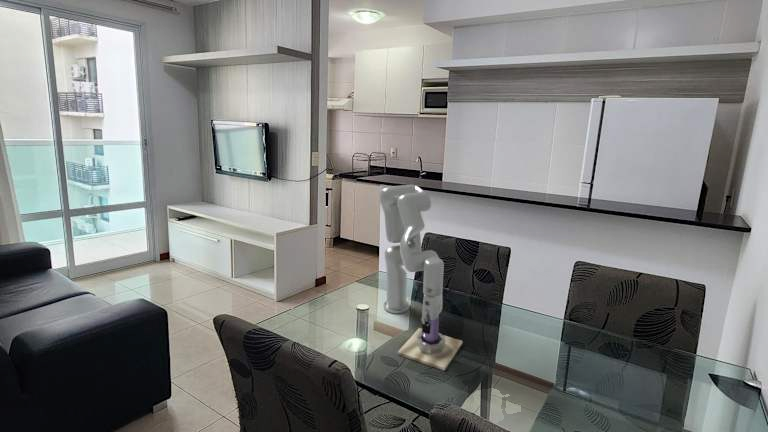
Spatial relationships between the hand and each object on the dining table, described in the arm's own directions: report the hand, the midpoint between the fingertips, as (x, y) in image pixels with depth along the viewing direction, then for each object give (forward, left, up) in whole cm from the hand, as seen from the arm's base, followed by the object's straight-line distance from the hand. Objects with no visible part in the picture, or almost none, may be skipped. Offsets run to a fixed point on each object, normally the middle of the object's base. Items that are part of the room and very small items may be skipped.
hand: (431, 326), depth 167 cm
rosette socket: (0, 0, -10) cm, 10 cm away
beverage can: (0, 0, -9) cm, 9 cm away
